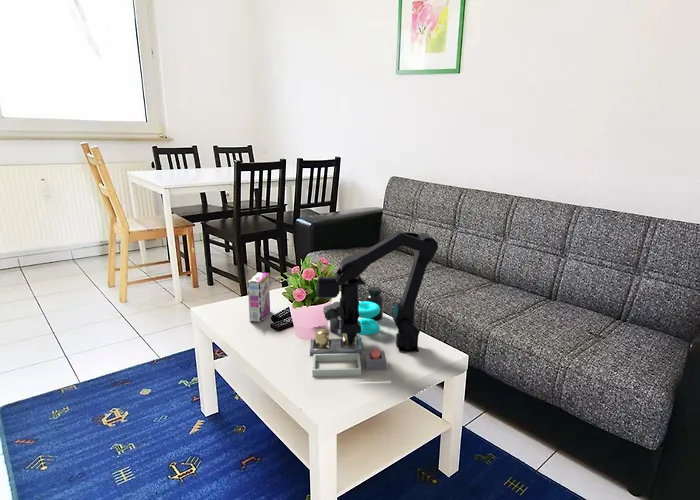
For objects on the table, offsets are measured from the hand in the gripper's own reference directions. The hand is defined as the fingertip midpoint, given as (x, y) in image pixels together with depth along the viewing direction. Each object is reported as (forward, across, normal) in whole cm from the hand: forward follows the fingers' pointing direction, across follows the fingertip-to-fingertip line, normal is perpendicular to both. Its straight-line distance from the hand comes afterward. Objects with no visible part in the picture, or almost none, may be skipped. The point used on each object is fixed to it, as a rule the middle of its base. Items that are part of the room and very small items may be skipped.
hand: (349, 340), depth 148 cm
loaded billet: (+3, 0, -9) cm, 9 cm away
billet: (+1, 0, 0) cm, 1 cm away
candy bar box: (+4, -28, -34) cm, 44 cm away
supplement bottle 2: (+4, -25, +10) cm, 27 cm away
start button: (+1, +11, +7) cm, 13 cm away
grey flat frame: (+4, 0, -5) cm, 6 cm away
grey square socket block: (+4, +11, +7) cm, 14 cm away
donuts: (+4, -14, +6) cm, 16 cm away
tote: (+4, +12, -5) cm, 13 cm away
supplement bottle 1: (+4, -13, -4) cm, 14 cm away
